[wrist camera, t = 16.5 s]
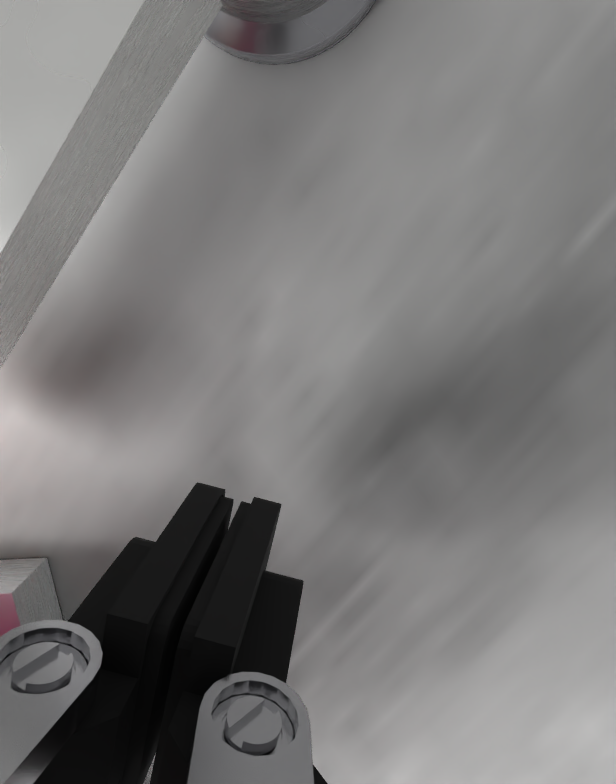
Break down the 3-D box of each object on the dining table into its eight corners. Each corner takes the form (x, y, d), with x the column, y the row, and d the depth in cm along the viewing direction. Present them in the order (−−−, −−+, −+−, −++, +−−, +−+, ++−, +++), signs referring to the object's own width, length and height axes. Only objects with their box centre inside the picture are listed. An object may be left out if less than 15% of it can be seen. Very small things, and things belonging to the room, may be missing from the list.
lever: (243, -292, 9) (136, -767, 5) (422, -133, 9) (469, -443, 5) (-149, 434, 13) (-391, 526, 9) (-17, 526, 13) (-191, 658, 9)
